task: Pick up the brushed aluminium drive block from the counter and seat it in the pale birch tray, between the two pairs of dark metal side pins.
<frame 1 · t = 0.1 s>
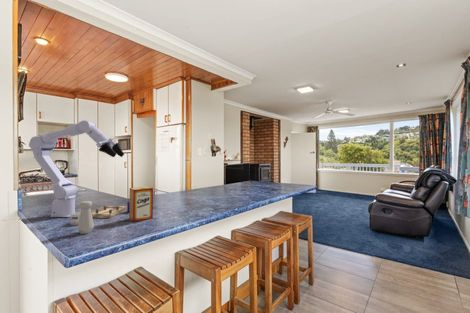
hand: (118, 155, 117), 32 cm above the countertop, tool tilted 50°, fingers open, 7 cm apart
drive block: (81, 222, 106), on the countertop
pin tray: (107, 213, 122), on the countertop
baking soda box: (141, 219, 114), on the countertop
salt shaker: (85, 232, 93), on the countertop
cable clip: (135, 210, 131), on the countertop
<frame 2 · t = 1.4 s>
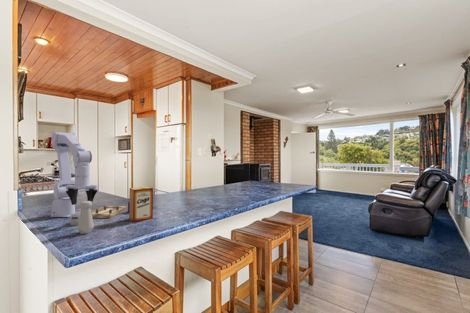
hand: (81, 204, 106), 8 cm above the countertop, tool pointing down, fingers open, 7 cm apart
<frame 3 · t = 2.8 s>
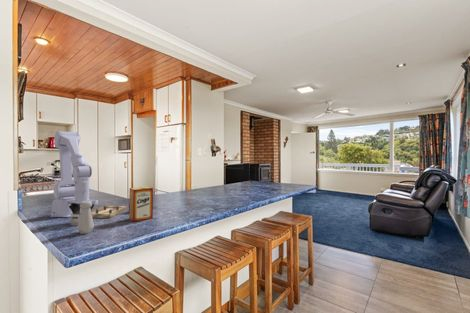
hand: (81, 219, 106), 1 cm above the countertop, tool pointing down, fingers closed on drive block, 4 cm apart
drive block: (81, 222, 107), on the countertop, touching gripper
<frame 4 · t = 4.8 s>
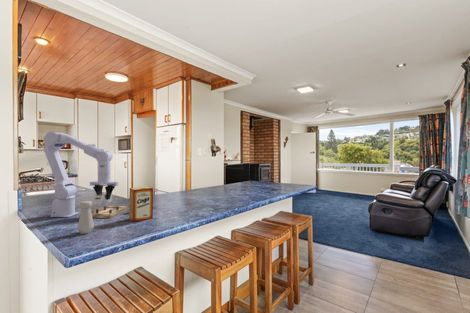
hand: (104, 199, 120), 8 cm above the countertop, tool pointing down, fingers closed on drive block, 4 cm apart
drive block: (103, 203, 119), point 6 cm above the countertop, touching gripper
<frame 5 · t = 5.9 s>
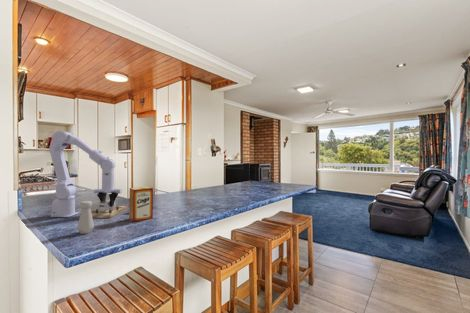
hand: (107, 206, 122), 4 cm above the countertop, tool pointing down, fingers closed on drive block, 4 cm apart
drive block: (107, 210, 122), point 2 cm above the countertop, touching gripper
when the fingers open (4 cm above the countertop, at t = 6.7 s): drive block stays where it is, resting on pin tray.
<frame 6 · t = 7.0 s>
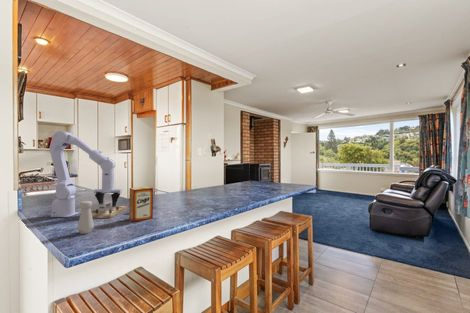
hand: (107, 206, 122), 4 cm above the countertop, tool pointing down, fingers open, 6 cm apart
drive block: (107, 211, 122), point 1 cm above the countertop, touching pin tray
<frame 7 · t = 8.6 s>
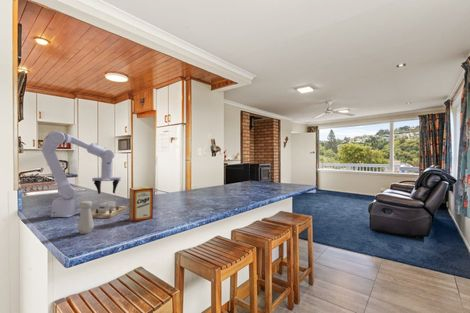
hand: (106, 193, 131), 9 cm above the countertop, tool pointing down, fingers open, 7 cm apart
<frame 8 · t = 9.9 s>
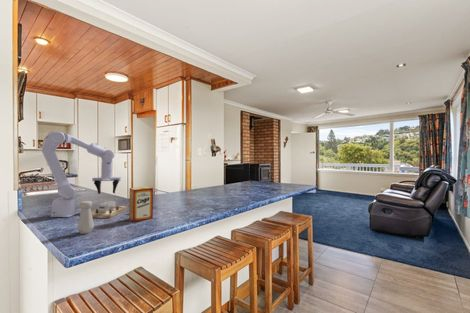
hand: (106, 193, 131), 9 cm above the countertop, tool pointing down, fingers open, 7 cm apart
at the end: drive block 0.6 cm off-centre on the pin tray, point 1.0 cm above the pin tray's base; drive block tilted 0°; the gripper is holding nothing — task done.
